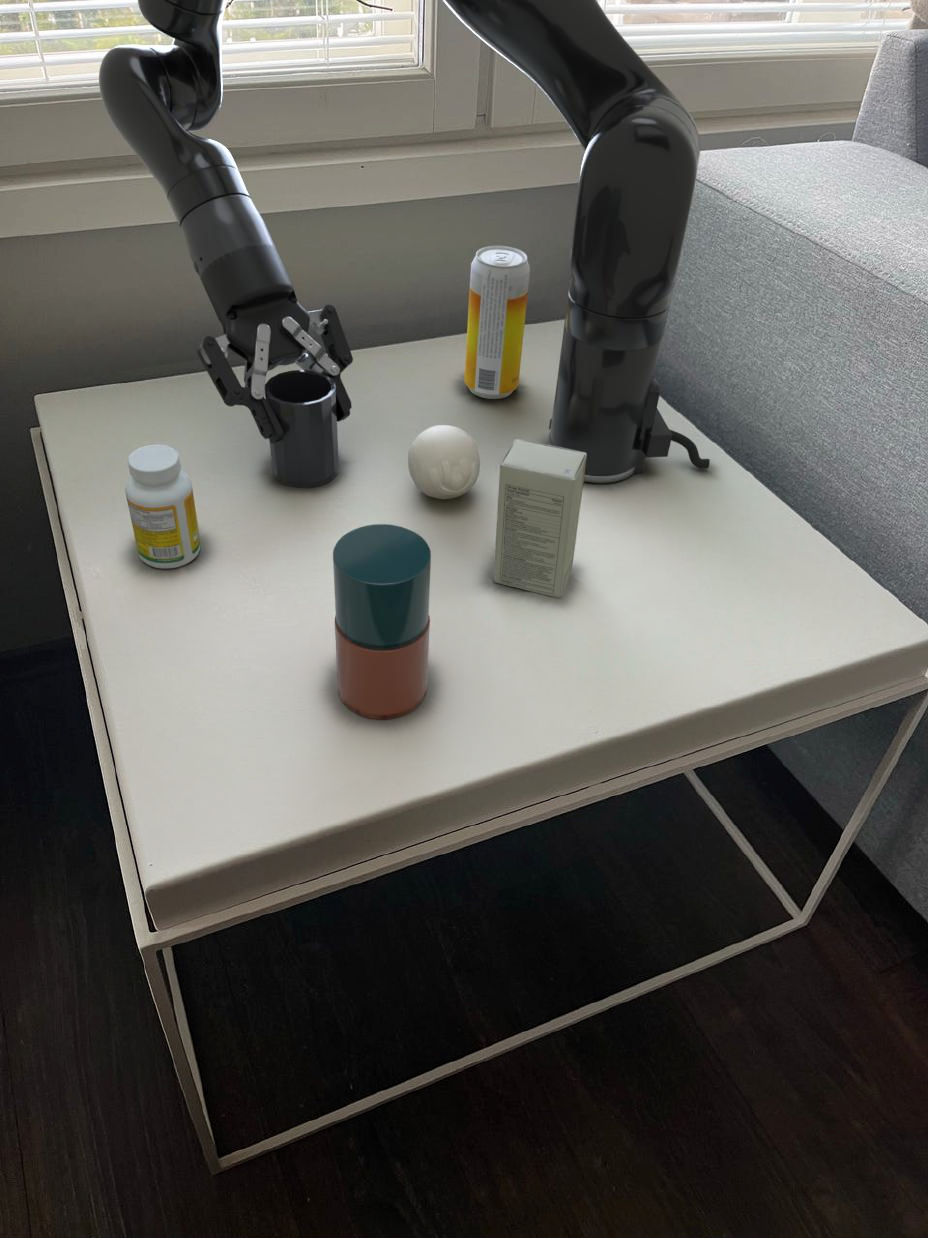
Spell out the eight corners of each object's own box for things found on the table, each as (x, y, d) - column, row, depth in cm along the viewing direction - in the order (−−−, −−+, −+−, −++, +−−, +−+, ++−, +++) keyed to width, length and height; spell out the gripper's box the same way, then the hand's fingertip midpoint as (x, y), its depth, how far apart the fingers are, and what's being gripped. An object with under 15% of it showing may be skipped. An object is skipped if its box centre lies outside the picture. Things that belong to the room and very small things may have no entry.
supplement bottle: (164, 579, 82) (145, 484, 76) (125, 551, 84) (104, 457, 78) (214, 550, 85) (200, 457, 79) (176, 524, 88) (159, 432, 81)
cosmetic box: (572, 570, 86) (592, 452, 78) (560, 600, 83) (579, 480, 74) (503, 552, 87) (515, 434, 79) (488, 581, 84) (499, 462, 76)
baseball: (421, 520, 90) (423, 459, 86) (399, 477, 95) (400, 417, 91) (489, 509, 92) (494, 449, 87) (464, 467, 97) (468, 408, 92)
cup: (336, 450, 98) (333, 369, 92) (340, 486, 93) (336, 403, 87) (272, 452, 97) (264, 370, 91) (272, 489, 92) (264, 405, 86)
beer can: (519, 377, 111) (532, 246, 101) (516, 403, 107) (529, 270, 97) (466, 372, 111) (474, 241, 101) (461, 398, 107) (469, 264, 97)
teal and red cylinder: (421, 652, 77) (426, 520, 68) (432, 716, 72) (438, 582, 63) (335, 658, 76) (329, 524, 67) (340, 723, 71) (333, 588, 62)
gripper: (173, 258, 83) (255, 440, 84) (318, 226, 90) (391, 394, 91) (155, 295, 89) (232, 463, 90) (292, 263, 96) (360, 419, 97)
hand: (311, 428), depth 91 cm, fingers closed on cup, 6 cm apart
